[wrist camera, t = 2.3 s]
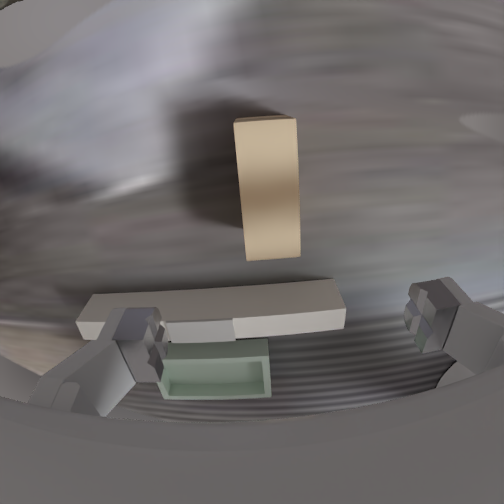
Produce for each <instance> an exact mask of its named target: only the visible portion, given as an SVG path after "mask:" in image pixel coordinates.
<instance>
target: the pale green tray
mask: <svg viewBox="0 0 504 504" xmlns="http://www.w3.org/2000/svg"><path fill="white" fill-rule="evenodd" d="M162 362H163V365H164V369H163V374H162V378H161V382H157V384H158V387H159V389H160V391H161V393H162V395H163V398H164V399H174V400H225V399H250V398H266V397H272V395H271V379H270V363H269V349H268V338H263V339H249V340H236V341H228V342H204V343H168V352H167V357H165V358H164V359H163V360H162Z"/></svg>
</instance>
